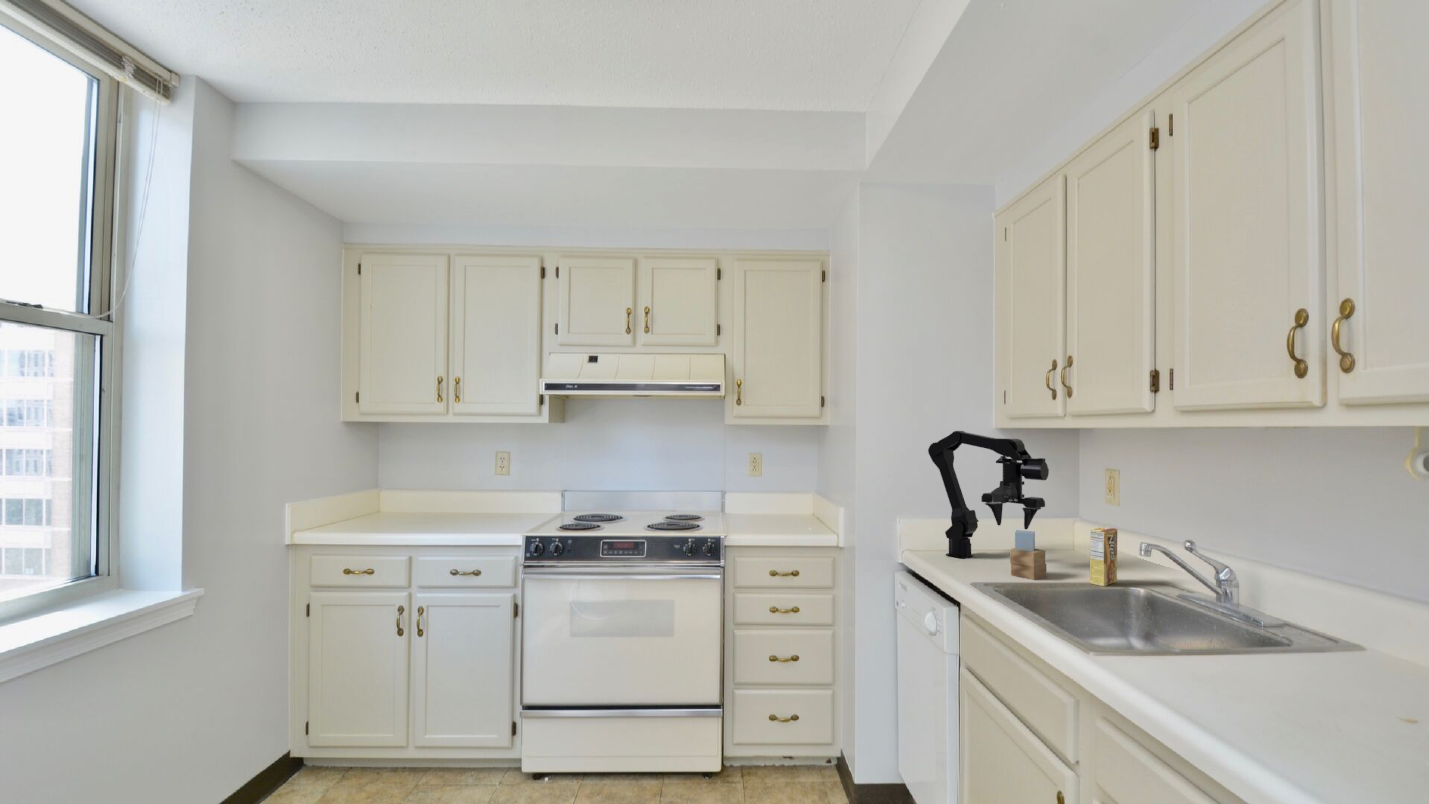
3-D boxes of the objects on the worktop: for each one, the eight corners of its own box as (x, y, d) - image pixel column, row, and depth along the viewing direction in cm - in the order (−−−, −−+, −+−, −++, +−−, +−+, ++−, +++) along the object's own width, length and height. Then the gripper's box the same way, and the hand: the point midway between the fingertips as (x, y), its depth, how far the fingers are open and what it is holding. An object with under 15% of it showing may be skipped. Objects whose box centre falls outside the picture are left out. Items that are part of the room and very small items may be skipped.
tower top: (1010, 562, 204) (1010, 549, 205) (1022, 559, 209) (1022, 546, 209) (1033, 566, 199) (1033, 553, 199) (1045, 563, 203) (1045, 550, 203)
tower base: (1011, 576, 205) (1011, 562, 205) (1023, 573, 209) (1023, 559, 209) (1033, 580, 199) (1033, 566, 199) (1046, 577, 203) (1046, 564, 203)
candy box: (1102, 579, 201) (1102, 526, 201) (1118, 582, 197) (1117, 528, 198) (1089, 583, 195) (1089, 529, 195) (1105, 586, 192) (1105, 531, 192)
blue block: (1015, 549, 204) (1015, 532, 204) (1016, 546, 209) (1016, 530, 209) (1033, 551, 202) (1033, 534, 202) (1034, 548, 206) (1034, 531, 206)
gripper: (971, 477, 222) (971, 525, 222) (1025, 481, 207) (1026, 533, 207) (991, 475, 229) (991, 522, 229) (1045, 480, 214) (1046, 530, 213)
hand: (1012, 527), depth 219 cm, fingers open, 9 cm apart
